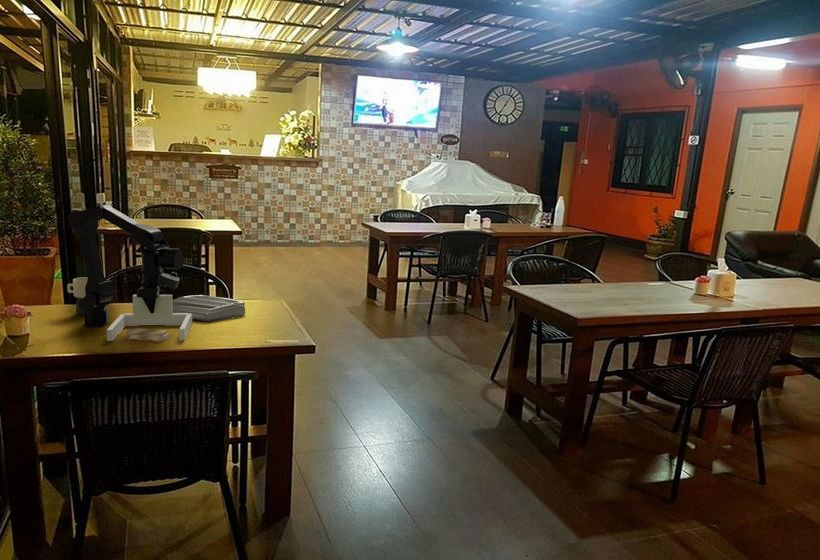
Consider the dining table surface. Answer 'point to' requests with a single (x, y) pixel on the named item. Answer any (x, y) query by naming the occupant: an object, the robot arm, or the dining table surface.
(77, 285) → the character mug
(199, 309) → the emblem
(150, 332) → the offcut stack
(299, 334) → the dining table surface
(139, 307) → the pale green rectangular slab
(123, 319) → the rack
